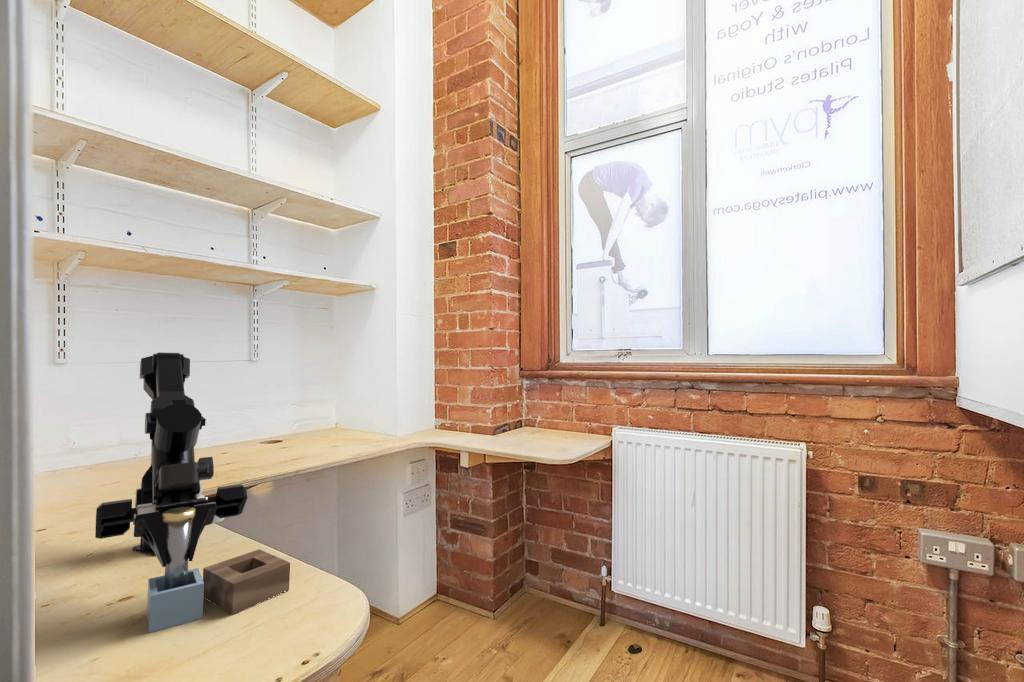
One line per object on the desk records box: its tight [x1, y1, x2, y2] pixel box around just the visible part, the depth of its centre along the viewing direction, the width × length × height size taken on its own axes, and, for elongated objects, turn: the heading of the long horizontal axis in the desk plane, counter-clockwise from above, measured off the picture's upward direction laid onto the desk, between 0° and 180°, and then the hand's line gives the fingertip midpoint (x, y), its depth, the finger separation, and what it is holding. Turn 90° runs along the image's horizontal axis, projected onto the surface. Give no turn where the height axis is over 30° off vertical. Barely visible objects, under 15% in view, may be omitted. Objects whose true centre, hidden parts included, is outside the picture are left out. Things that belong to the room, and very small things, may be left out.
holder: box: [146, 567, 204, 634], centre depth 70 cm, size 6×6×5 cm
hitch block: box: [202, 548, 291, 616], centre depth 77 cm, size 9×9×4 cm
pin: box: [162, 507, 196, 590], centre depth 71 cm, size 4×4×14 cm
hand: (177, 562), depth 69 cm, fingers closed on pin, 3 cm apart
